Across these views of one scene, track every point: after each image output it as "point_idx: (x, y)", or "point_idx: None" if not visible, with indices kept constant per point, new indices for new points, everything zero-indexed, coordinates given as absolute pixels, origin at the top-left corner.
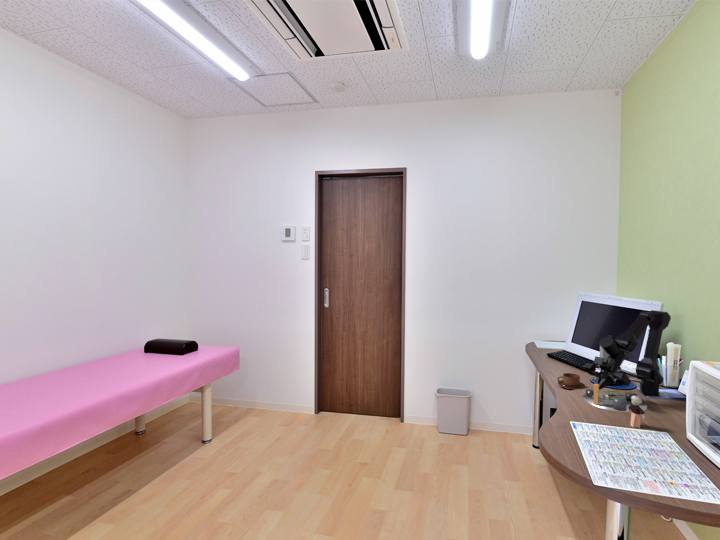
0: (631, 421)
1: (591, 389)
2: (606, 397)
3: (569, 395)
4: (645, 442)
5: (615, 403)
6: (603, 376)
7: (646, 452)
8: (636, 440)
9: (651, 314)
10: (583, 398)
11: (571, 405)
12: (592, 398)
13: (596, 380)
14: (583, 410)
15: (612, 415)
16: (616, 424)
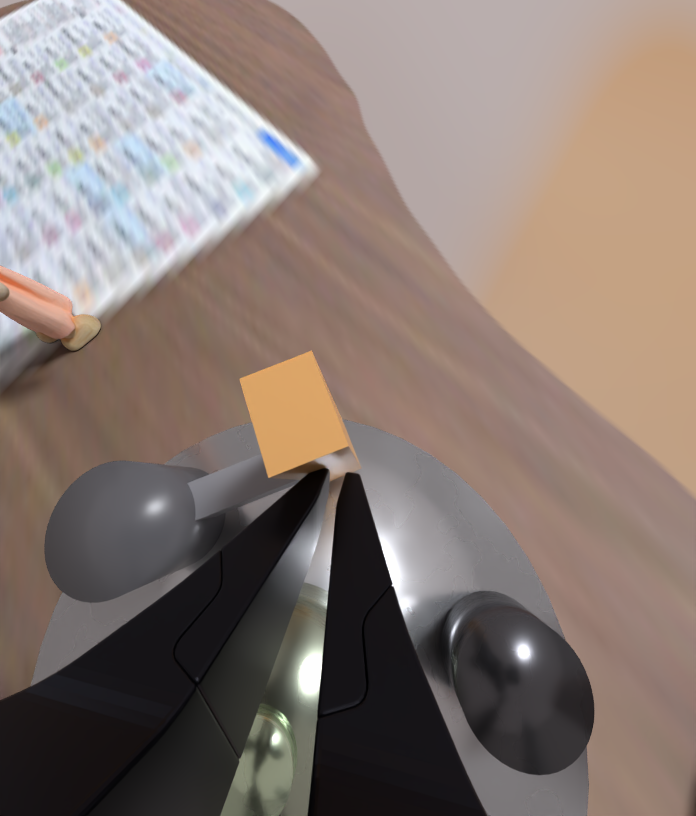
0: (32, 281)
1: (561, 756)
2: (302, 602)
3: (634, 536)
4: (13, 238)
5: (163, 465)
6: (52, 789)
7: (4, 174)
8: (44, 226)
9: None
10: (480, 501)
11: (453, 343)
12: (439, 577)
13: (374, 594)
14: (356, 331)
15: (207, 404)
16: (149, 303)
